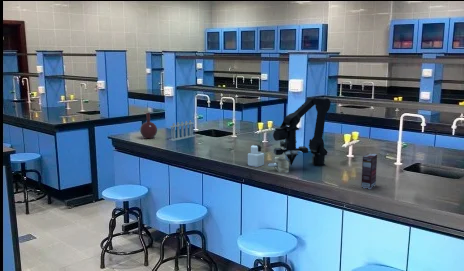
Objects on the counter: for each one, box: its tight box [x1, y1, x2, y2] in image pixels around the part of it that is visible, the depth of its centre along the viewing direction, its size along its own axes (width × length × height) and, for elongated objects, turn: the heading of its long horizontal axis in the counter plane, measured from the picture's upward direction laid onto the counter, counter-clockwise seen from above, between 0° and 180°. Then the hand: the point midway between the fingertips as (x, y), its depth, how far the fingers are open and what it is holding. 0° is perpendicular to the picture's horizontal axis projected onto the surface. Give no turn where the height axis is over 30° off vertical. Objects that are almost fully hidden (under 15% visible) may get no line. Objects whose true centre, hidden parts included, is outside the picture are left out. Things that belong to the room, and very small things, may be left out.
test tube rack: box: [168, 120, 196, 142], centre depth 329 cm, size 25×4×13 cm, turn 140°
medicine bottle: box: [247, 144, 265, 168], centre depth 246 cm, size 7×7×12 cm
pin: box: [267, 160, 290, 168], centre depth 235 cm, size 12×4×4 cm, turn 99°
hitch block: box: [274, 156, 290, 174], centre depth 236 cm, size 5×12×6 cm, turn 9°
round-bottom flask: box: [139, 112, 158, 139], centre depth 328 cm, size 13×13×20 cm
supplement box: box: [360, 152, 378, 190], centre depth 204 cm, size 9×5×16 cm, turn 144°
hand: (291, 165), depth 237 cm, fingers closed
